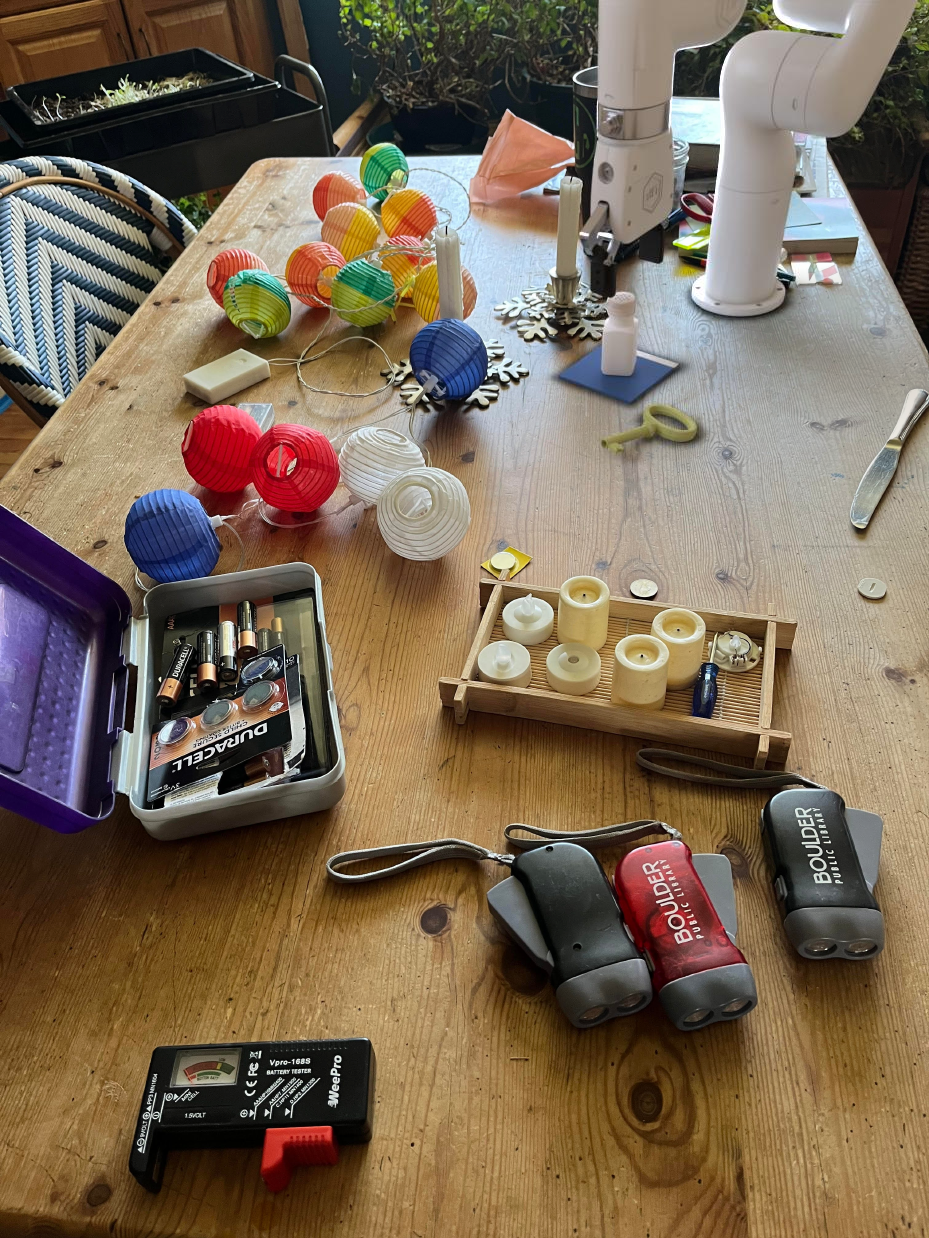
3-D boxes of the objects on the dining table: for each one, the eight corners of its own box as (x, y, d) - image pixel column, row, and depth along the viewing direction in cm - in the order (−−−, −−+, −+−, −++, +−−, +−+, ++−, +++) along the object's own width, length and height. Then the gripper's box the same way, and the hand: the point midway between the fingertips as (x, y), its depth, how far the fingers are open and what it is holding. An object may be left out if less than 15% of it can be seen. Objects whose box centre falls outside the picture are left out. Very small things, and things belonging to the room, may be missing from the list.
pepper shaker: (605, 360, 112) (608, 289, 105) (636, 362, 111) (641, 290, 104) (600, 376, 109) (603, 304, 103) (632, 378, 108) (637, 306, 102)
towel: (608, 342, 116) (608, 339, 116) (679, 366, 110) (679, 363, 110) (558, 378, 111) (558, 375, 110) (630, 404, 105) (630, 401, 105)
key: (596, 456, 98) (596, 440, 97) (654, 407, 104) (656, 391, 103) (650, 478, 95) (652, 462, 93) (708, 426, 101) (710, 410, 99)
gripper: (615, 151, 84) (610, 316, 96) (709, 96, 92) (694, 255, 104) (553, 140, 88) (557, 300, 100) (649, 88, 96) (641, 242, 108)
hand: (627, 277), depth 102 cm, fingers open, 9 cm apart
